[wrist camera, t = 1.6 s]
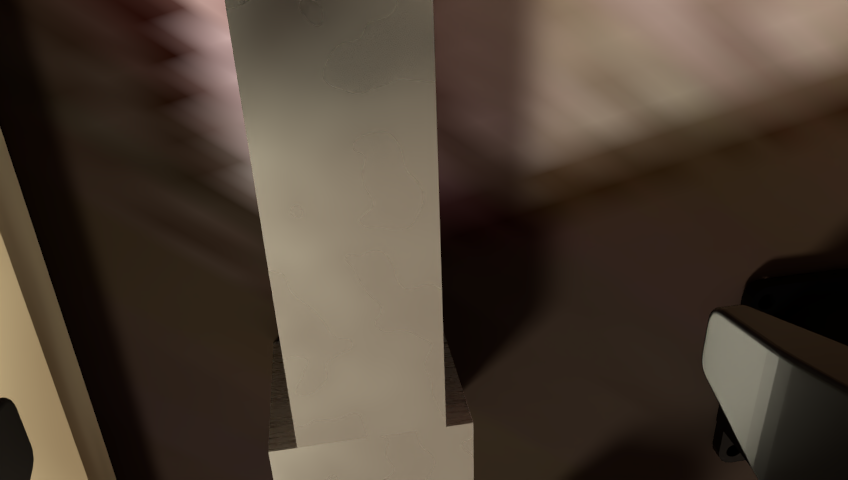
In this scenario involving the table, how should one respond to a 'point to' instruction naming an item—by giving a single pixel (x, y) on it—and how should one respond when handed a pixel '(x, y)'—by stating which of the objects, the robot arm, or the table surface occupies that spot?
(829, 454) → the robot arm
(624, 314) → the table surface
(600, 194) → the table surface
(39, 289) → the beige wooden board
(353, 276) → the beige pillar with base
